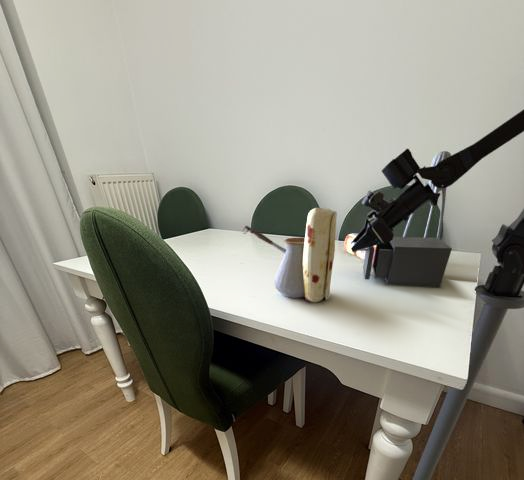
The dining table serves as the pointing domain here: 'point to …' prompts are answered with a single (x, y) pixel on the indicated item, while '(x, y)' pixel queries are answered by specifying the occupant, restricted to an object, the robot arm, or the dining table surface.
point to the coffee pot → (288, 266)
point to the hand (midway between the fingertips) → (351, 247)
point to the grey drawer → (377, 260)
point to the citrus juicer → (437, 159)
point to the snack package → (348, 247)
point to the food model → (318, 253)
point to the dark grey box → (418, 261)
